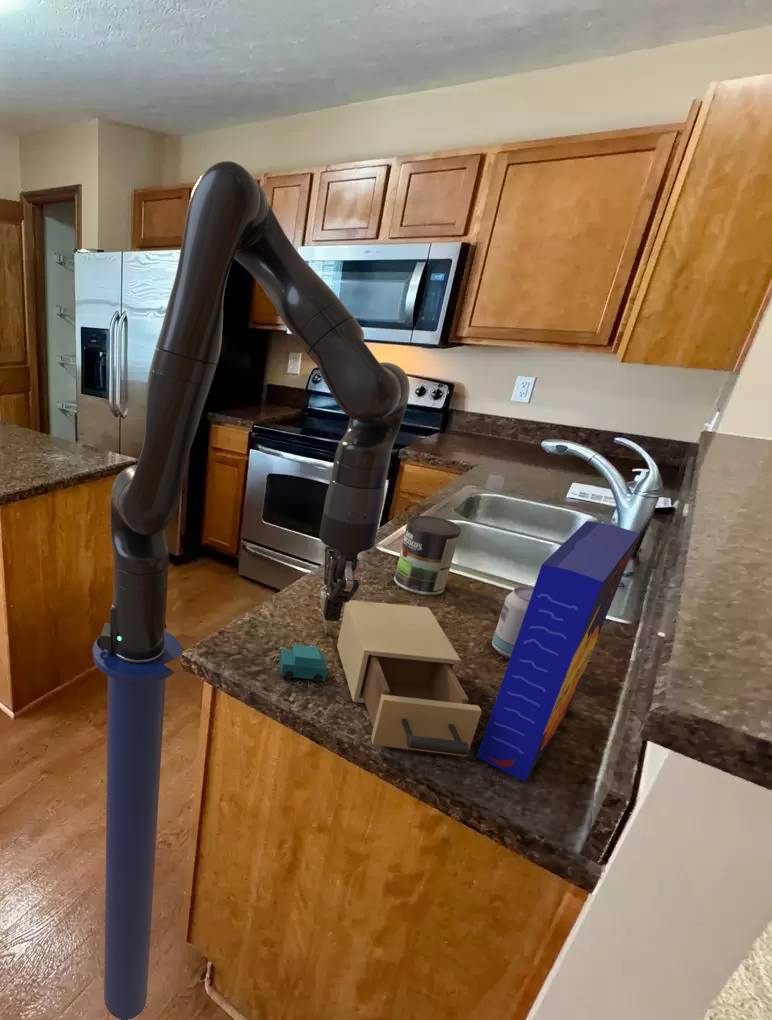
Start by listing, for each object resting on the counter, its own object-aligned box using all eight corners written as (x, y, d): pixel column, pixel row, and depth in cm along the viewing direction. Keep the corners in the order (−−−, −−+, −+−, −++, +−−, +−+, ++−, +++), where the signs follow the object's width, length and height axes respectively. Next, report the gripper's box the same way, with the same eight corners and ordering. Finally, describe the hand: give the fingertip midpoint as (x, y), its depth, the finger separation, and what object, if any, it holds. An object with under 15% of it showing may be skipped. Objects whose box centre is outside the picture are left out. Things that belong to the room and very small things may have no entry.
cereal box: (525, 782, 78) (603, 579, 66) (476, 757, 82) (542, 562, 70) (568, 709, 92) (640, 531, 80) (525, 691, 96) (587, 518, 84)
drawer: (481, 784, 77) (497, 737, 74) (380, 771, 78) (392, 725, 75) (434, 690, 94) (446, 649, 91) (353, 681, 96) (361, 640, 93)
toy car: (324, 683, 97) (328, 661, 95) (280, 678, 98) (284, 656, 96) (321, 667, 101) (325, 646, 99) (278, 662, 102) (282, 641, 100)
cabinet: (445, 712, 91) (461, 660, 87) (353, 701, 93) (364, 650, 89) (416, 654, 105) (429, 607, 101) (336, 646, 107) (346, 599, 103)
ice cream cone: (346, 635, 110) (361, 562, 104) (328, 643, 108) (342, 569, 102) (324, 622, 114) (337, 551, 108) (306, 630, 111) (319, 558, 105)
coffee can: (409, 596, 125) (424, 534, 119) (384, 574, 134) (397, 515, 128) (455, 594, 126) (472, 533, 120) (427, 572, 135) (442, 514, 129)
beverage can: (530, 670, 102) (552, 608, 97) (485, 653, 106) (504, 594, 101) (538, 653, 106) (560, 594, 101) (495, 638, 110) (514, 580, 106)
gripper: (392, 531, 77) (366, 645, 84) (368, 498, 89) (347, 599, 96) (332, 527, 78) (311, 639, 85) (316, 494, 90) (299, 595, 97)
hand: (330, 618), depth 90 cm, fingers closed
